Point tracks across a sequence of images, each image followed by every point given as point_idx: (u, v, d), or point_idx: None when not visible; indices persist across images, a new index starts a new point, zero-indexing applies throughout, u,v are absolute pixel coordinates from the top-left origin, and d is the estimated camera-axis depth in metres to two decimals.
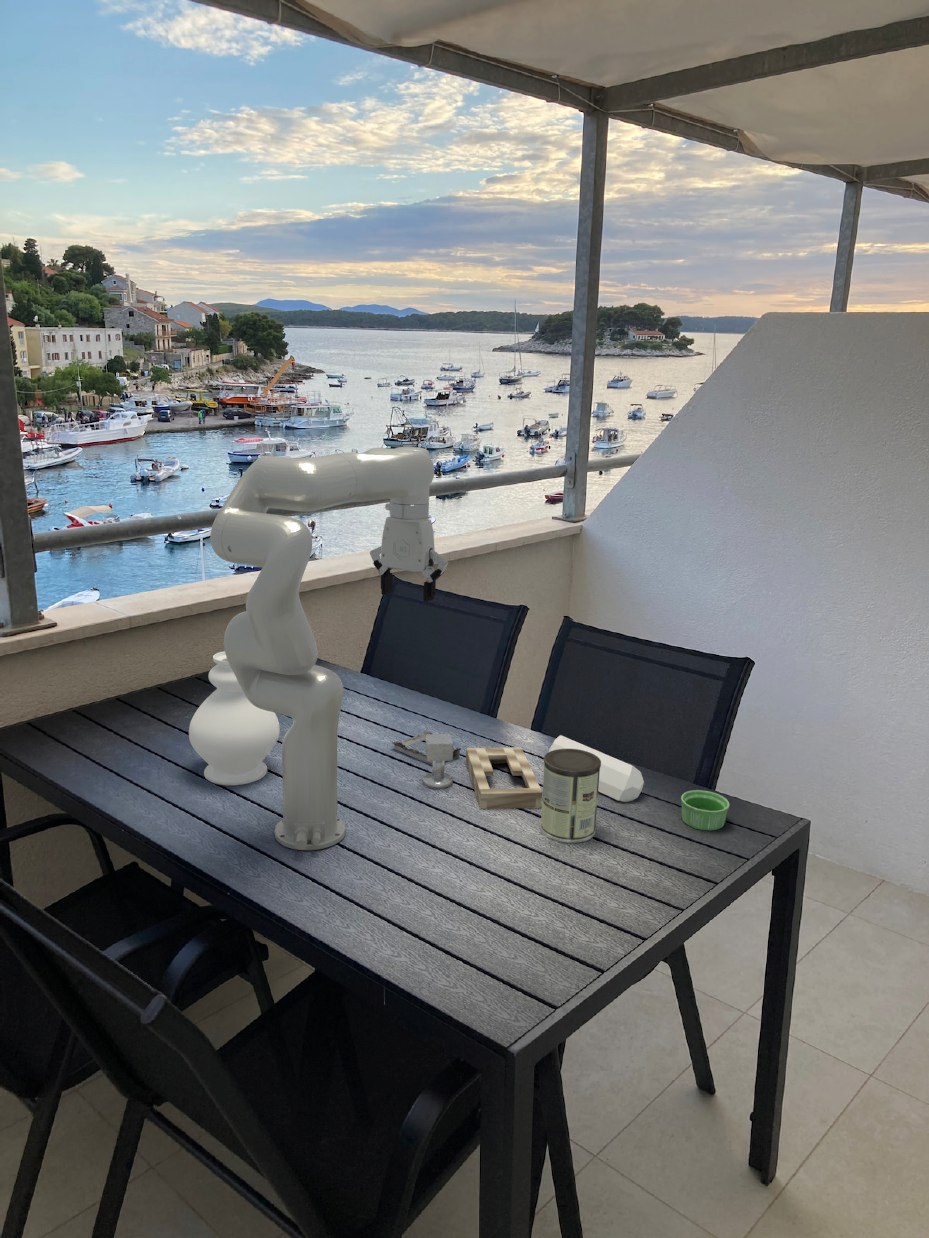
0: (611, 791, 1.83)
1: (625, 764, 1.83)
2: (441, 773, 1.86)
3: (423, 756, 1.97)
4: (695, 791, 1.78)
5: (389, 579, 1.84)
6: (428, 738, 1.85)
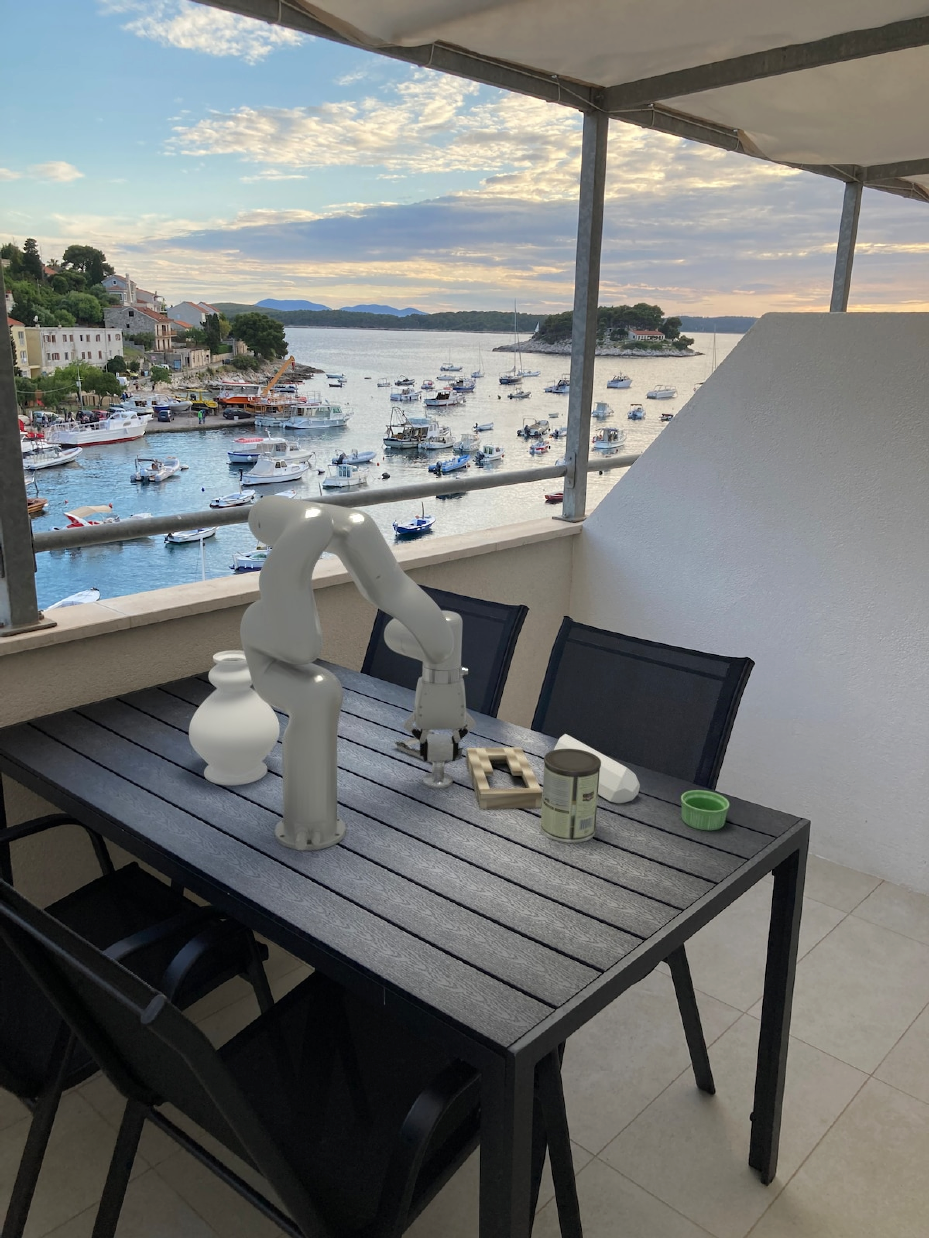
0: (604, 792, 1.82)
1: (620, 765, 1.82)
2: (441, 773, 1.86)
3: None
4: (695, 791, 1.78)
5: None
6: (428, 738, 1.85)
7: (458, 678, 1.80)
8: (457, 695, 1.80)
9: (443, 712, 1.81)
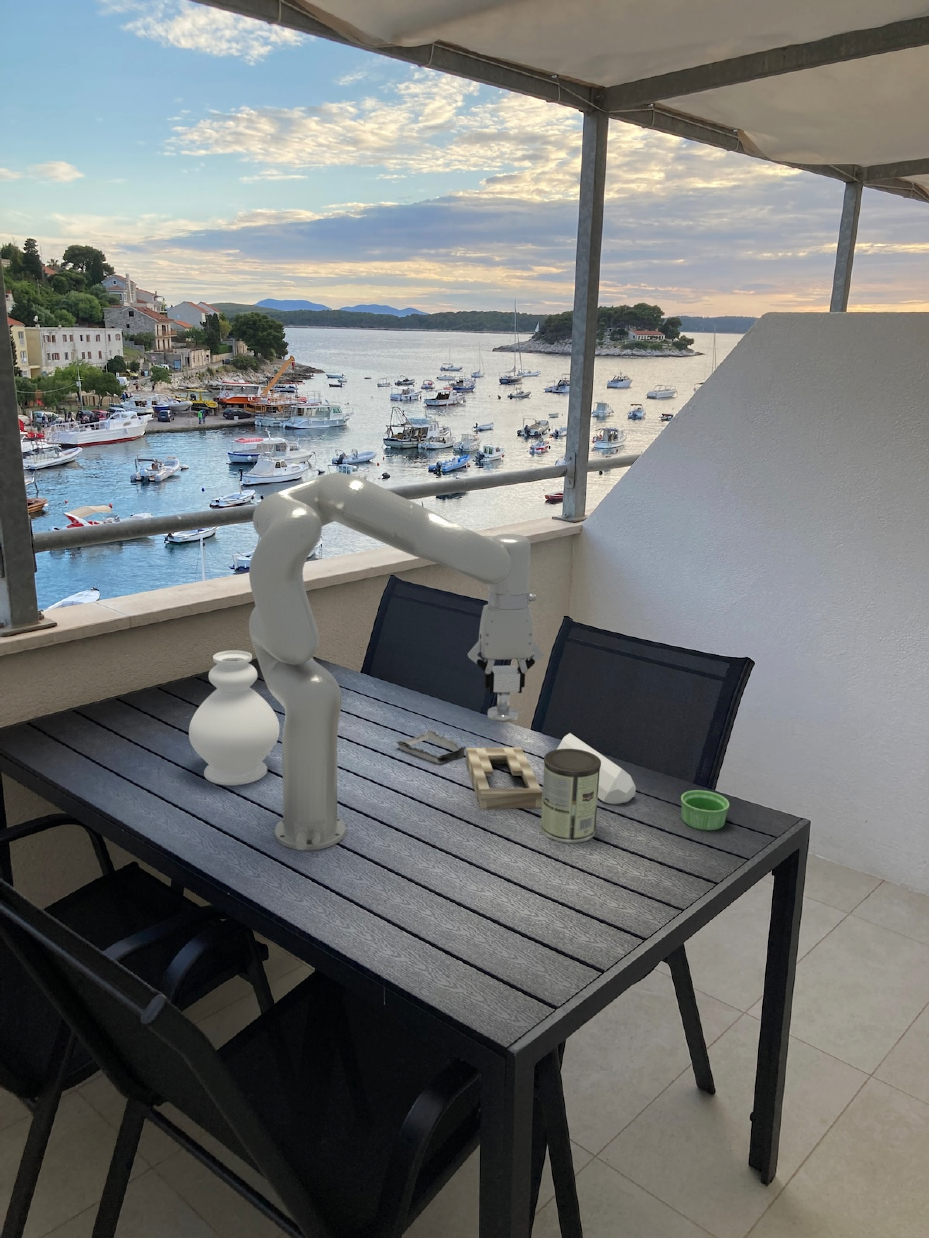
0: (599, 792, 1.82)
1: (615, 766, 1.82)
2: (507, 706, 1.78)
3: (428, 755, 1.97)
4: (695, 791, 1.78)
5: None
6: (493, 669, 1.77)
7: (526, 604, 1.72)
8: (525, 622, 1.73)
9: (510, 640, 1.73)
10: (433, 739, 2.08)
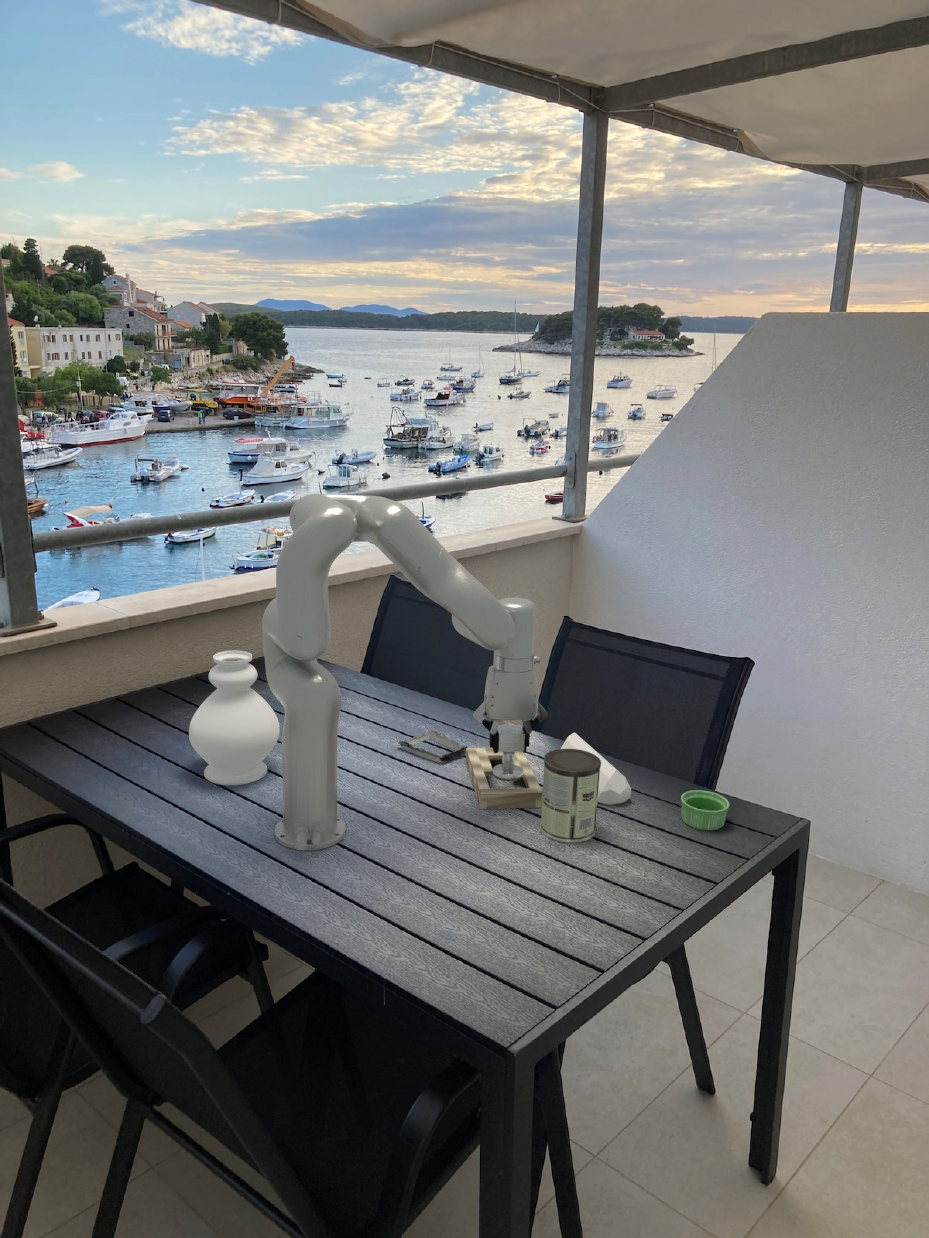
0: None
1: (611, 767, 1.82)
2: (511, 764, 1.81)
3: (430, 755, 1.98)
4: (695, 791, 1.78)
5: None
6: (498, 729, 1.80)
7: (531, 667, 1.75)
8: (529, 684, 1.75)
9: (515, 702, 1.76)
10: (434, 739, 2.08)
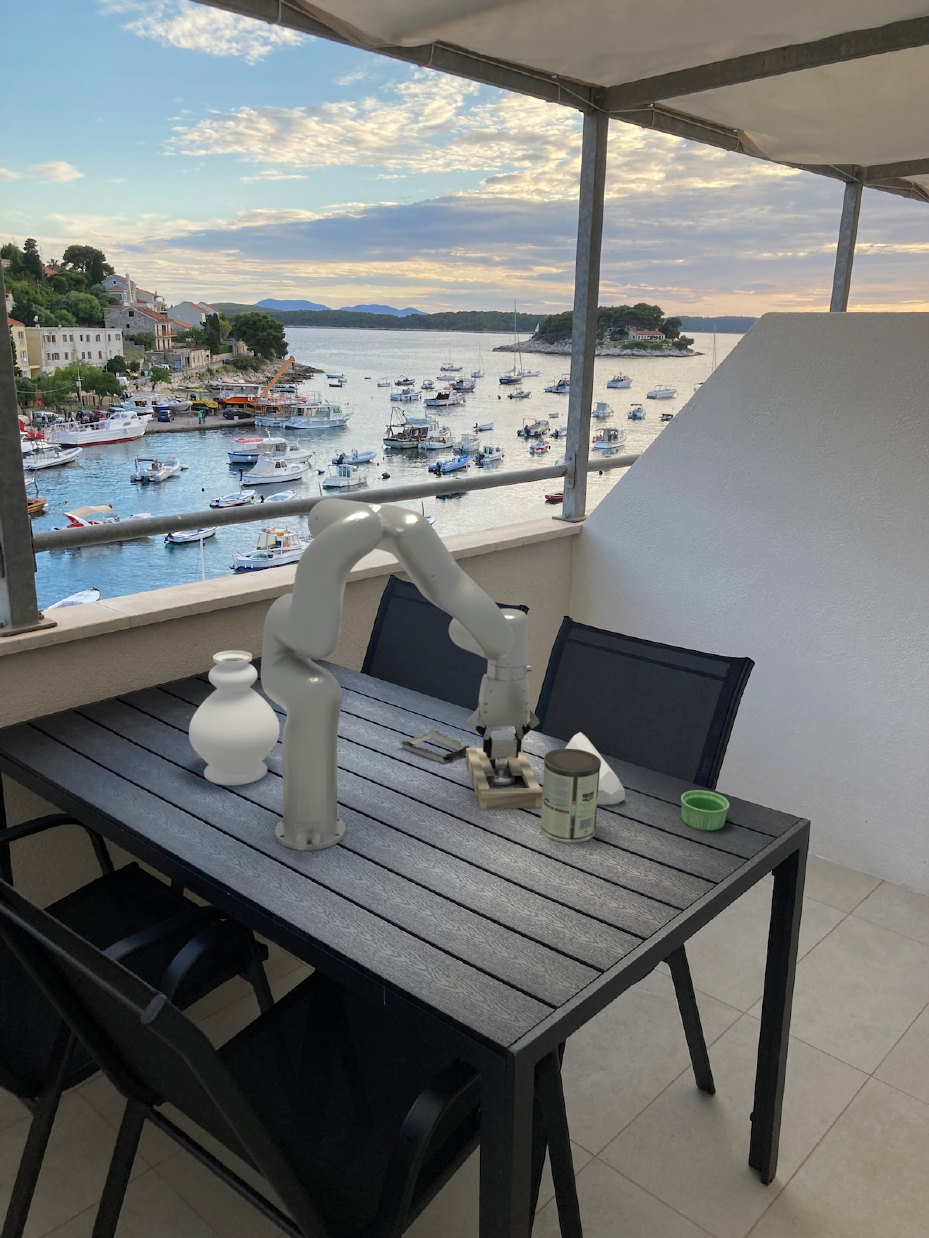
0: None
1: (605, 767, 1.81)
2: (504, 769, 1.88)
3: (433, 754, 1.98)
4: (695, 791, 1.78)
5: None
6: (491, 734, 1.87)
7: (523, 675, 1.82)
8: (522, 692, 1.82)
9: (508, 709, 1.83)
10: (436, 738, 2.09)
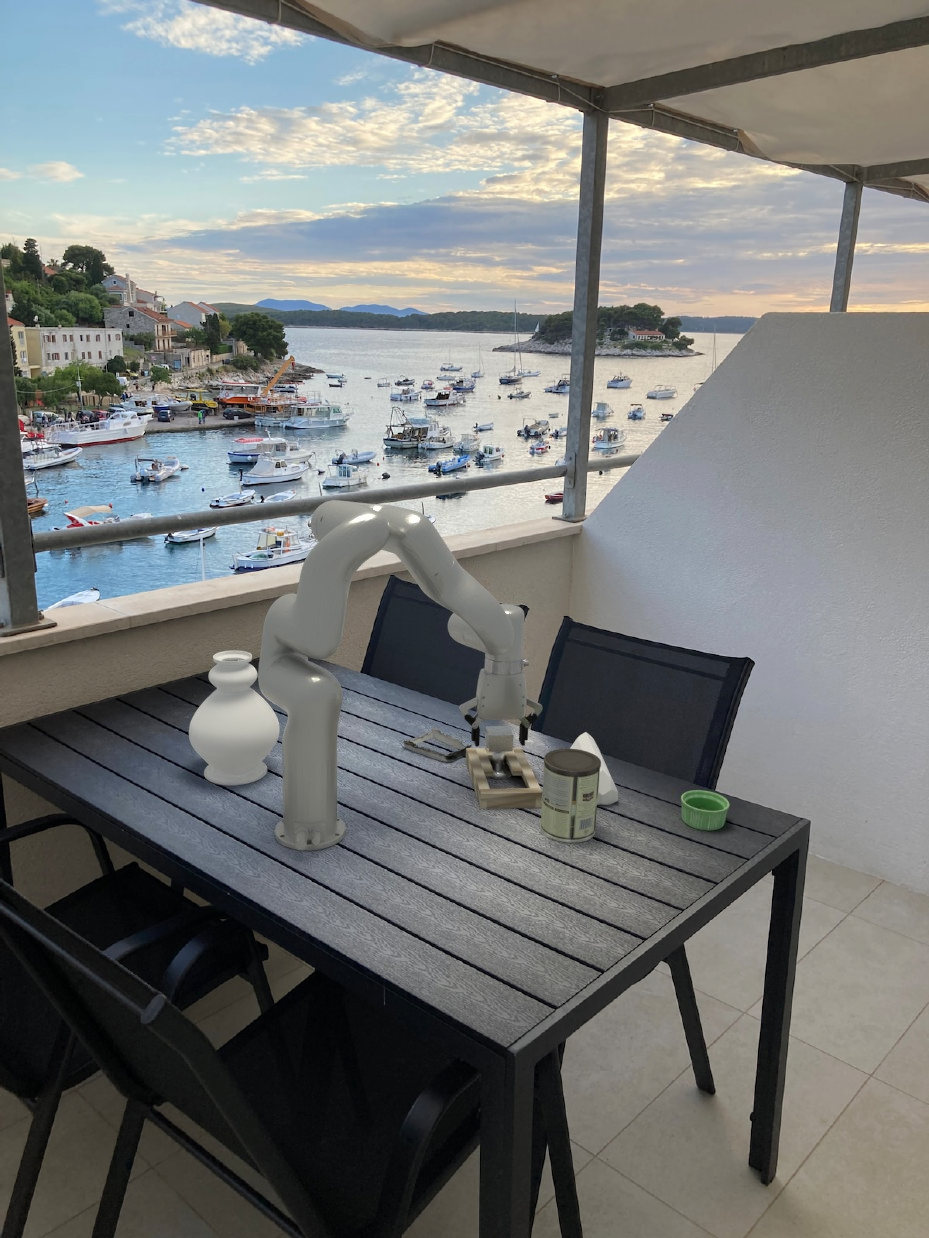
0: None
1: None
2: (501, 764, 1.91)
3: (435, 754, 1.98)
4: (695, 791, 1.78)
5: (520, 729, 1.91)
6: (488, 730, 1.90)
7: (520, 670, 1.85)
8: (518, 686, 1.86)
9: (505, 703, 1.86)
10: (438, 738, 2.09)
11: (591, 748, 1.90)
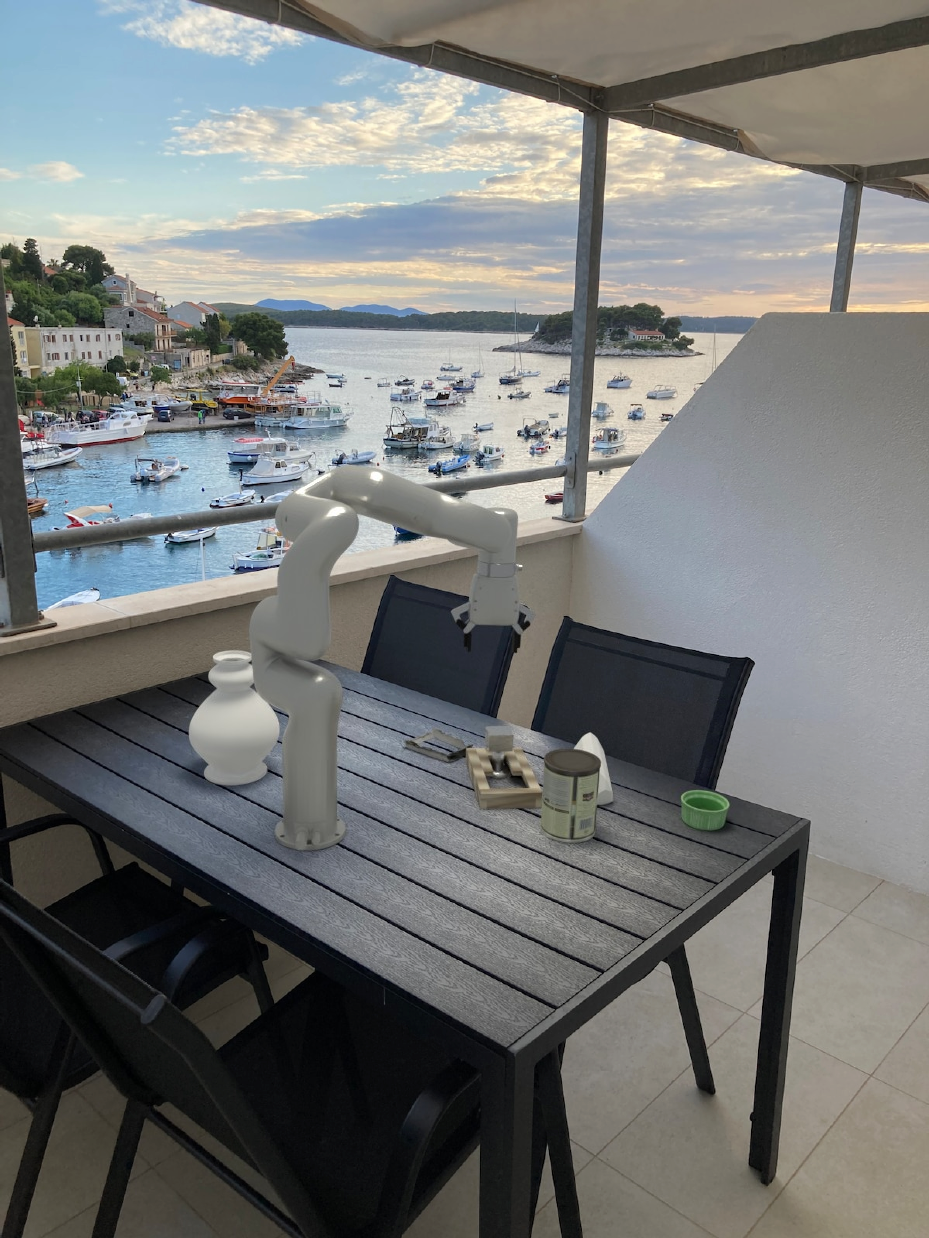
0: None
1: None
2: (501, 764, 1.91)
3: (437, 753, 1.98)
4: (695, 791, 1.78)
5: (513, 637, 1.89)
6: (488, 730, 1.90)
7: (512, 573, 1.84)
8: (511, 590, 1.84)
9: (497, 607, 1.85)
10: (439, 737, 2.09)
11: (591, 748, 1.90)
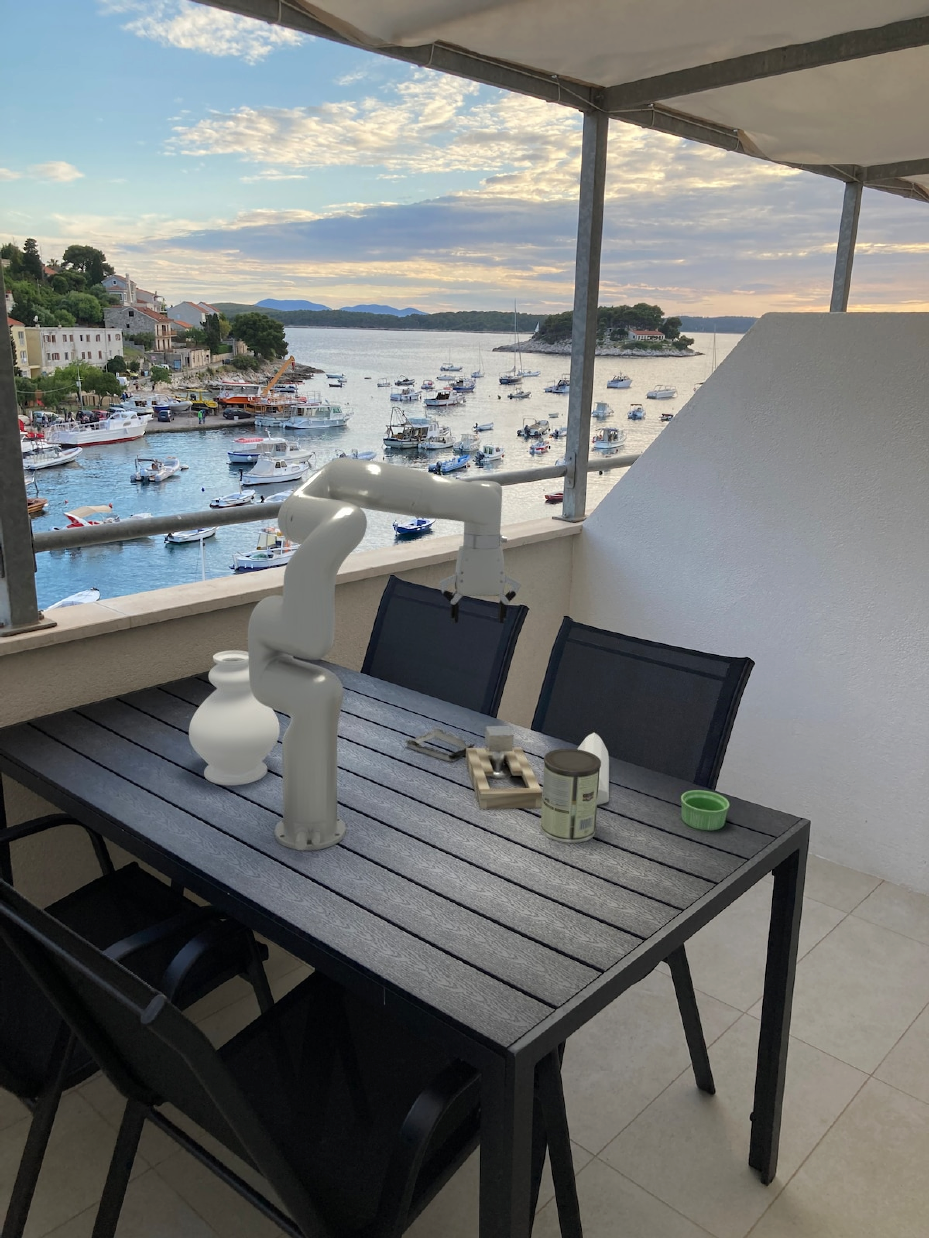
0: None
1: None
2: (501, 764, 1.91)
3: (439, 753, 1.99)
4: (695, 791, 1.78)
5: (499, 607, 1.94)
6: (488, 730, 1.90)
7: (498, 545, 1.88)
8: (497, 561, 1.89)
9: (483, 578, 1.89)
10: (440, 737, 2.09)
11: (592, 748, 1.90)
